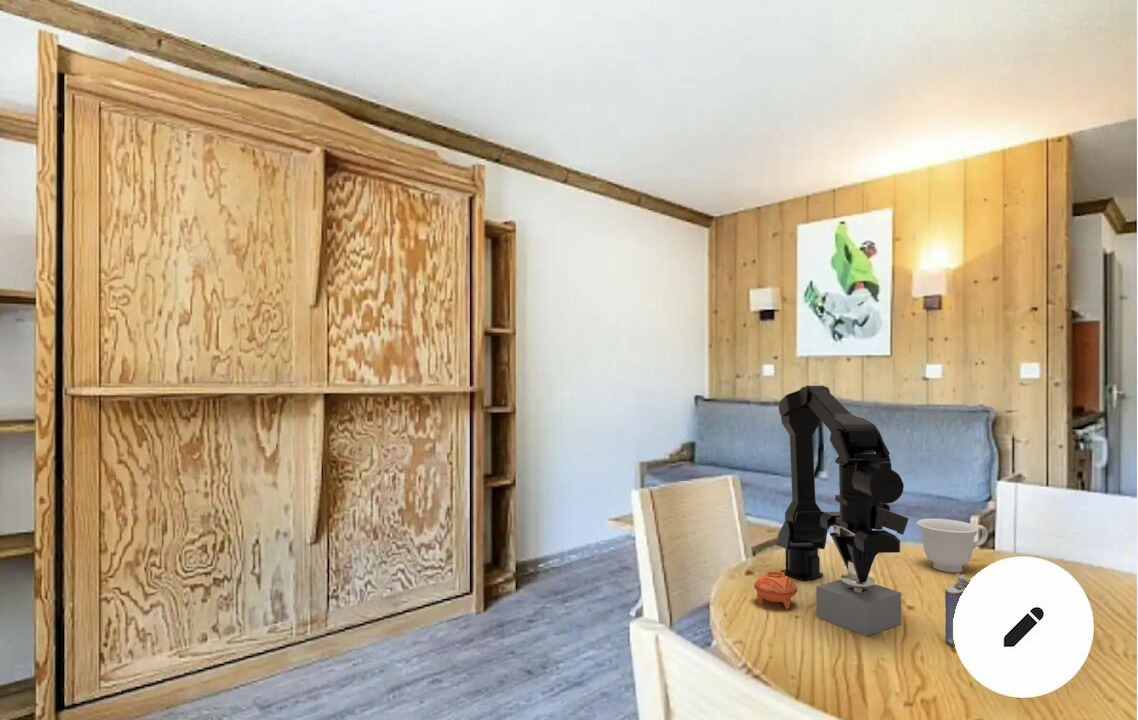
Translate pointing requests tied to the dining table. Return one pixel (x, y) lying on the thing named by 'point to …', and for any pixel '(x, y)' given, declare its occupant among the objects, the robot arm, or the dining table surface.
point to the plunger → (856, 579)
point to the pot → (775, 588)
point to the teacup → (949, 542)
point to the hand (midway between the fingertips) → (857, 578)
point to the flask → (953, 605)
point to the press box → (859, 607)
